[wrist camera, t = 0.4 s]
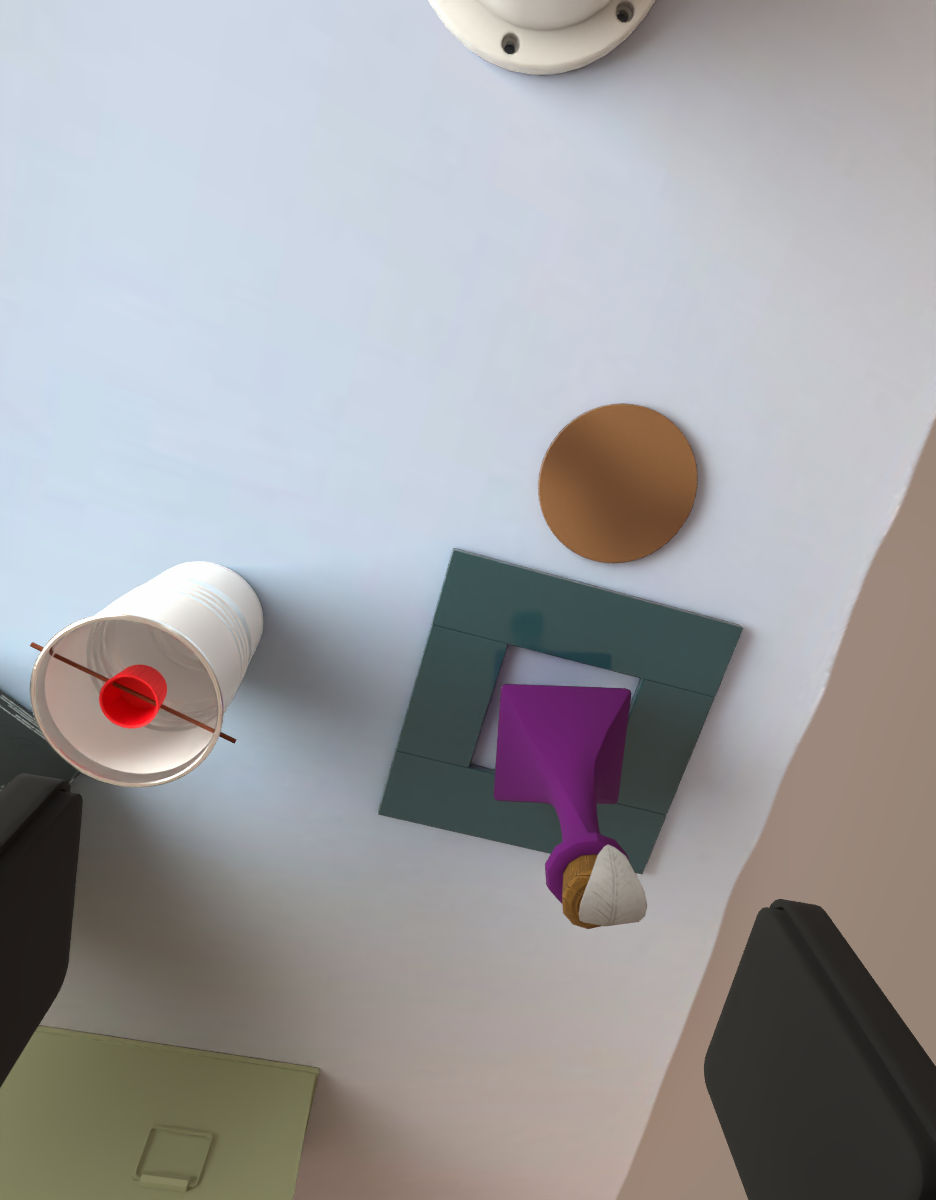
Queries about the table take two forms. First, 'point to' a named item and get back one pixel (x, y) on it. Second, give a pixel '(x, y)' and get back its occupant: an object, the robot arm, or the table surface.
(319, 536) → the table surface
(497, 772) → the purple corked potion bottle
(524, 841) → the green square frame
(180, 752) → the striped cup with float
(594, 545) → the coaster
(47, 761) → the box
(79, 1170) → the ammunition box
